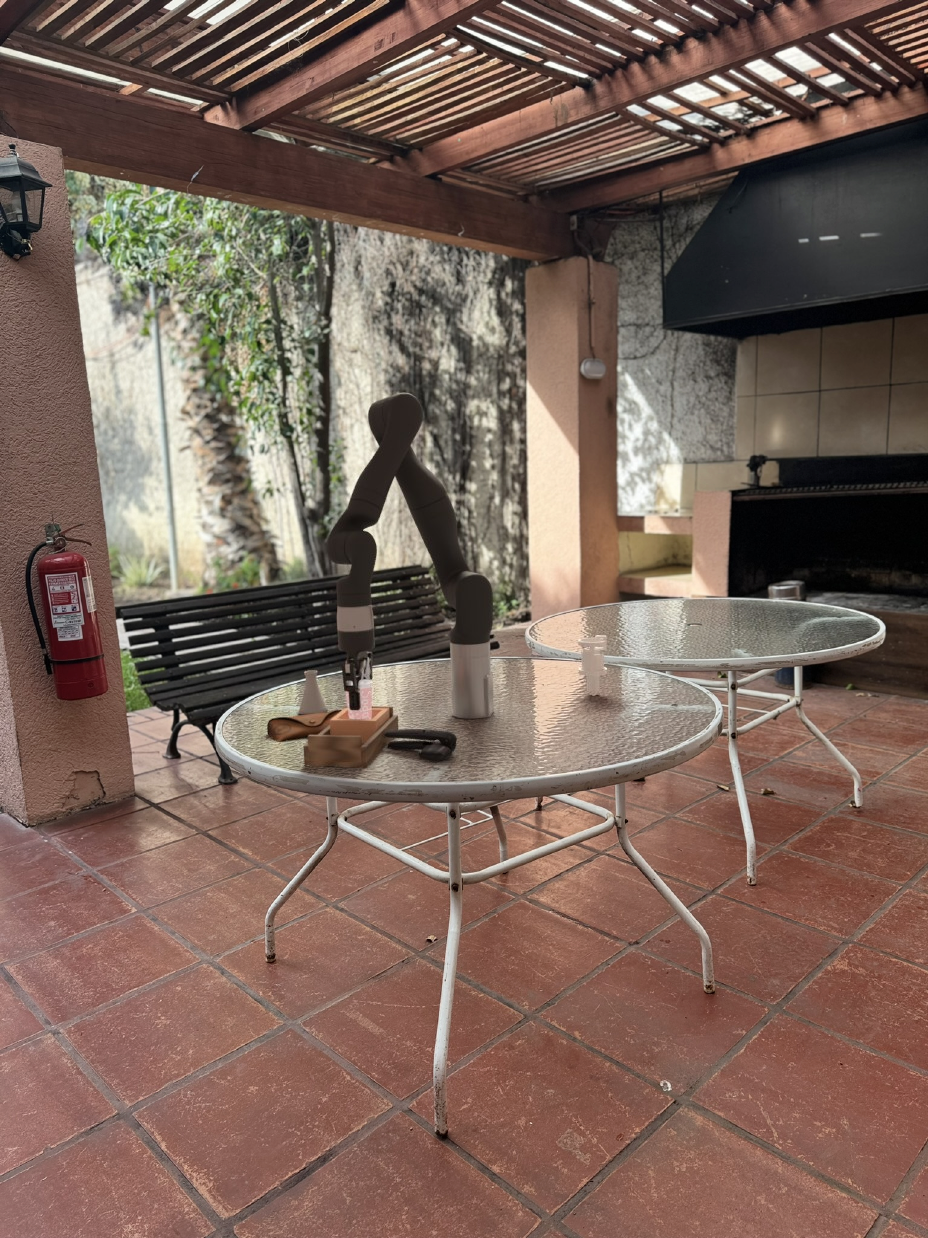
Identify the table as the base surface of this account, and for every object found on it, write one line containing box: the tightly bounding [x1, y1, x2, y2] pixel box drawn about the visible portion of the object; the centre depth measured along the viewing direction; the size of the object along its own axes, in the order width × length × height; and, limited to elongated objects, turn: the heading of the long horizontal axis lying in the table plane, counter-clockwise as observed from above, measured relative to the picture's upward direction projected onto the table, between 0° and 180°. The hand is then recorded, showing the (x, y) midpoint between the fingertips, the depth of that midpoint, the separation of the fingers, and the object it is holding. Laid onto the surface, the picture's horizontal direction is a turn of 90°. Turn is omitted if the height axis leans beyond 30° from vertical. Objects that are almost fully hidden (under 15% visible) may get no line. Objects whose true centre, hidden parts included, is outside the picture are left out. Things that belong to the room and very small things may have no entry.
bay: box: [303, 705, 399, 769], centre depth 183 cm, size 12×24×6 cm, turn 169°
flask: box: [297, 670, 329, 715], centre depth 215 cm, size 7×7×10 cm
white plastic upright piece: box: [577, 634, 608, 692], centre depth 222 cm, size 7×7×15 cm
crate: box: [330, 707, 390, 744], centre depth 188 cm, size 10×10×5 cm
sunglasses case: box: [266, 709, 343, 743], centre depth 197 cm, size 18×7×7 cm
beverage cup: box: [345, 676, 374, 719], centre depth 187 cm, size 6×6×14 cm
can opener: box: [385, 727, 458, 762], centre depth 179 cm, size 18×7×6 cm, turn 52°
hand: (359, 705), depth 187 cm, fingers closed on beverage cup, 6 cm apart
